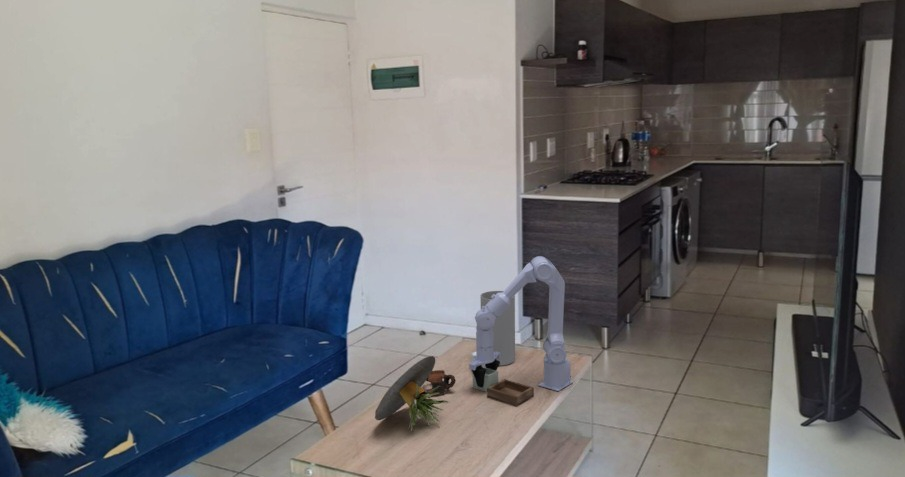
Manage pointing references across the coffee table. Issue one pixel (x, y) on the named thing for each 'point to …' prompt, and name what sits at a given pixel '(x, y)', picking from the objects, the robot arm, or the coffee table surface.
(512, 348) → the cylinder vase
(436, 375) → the pottery mug
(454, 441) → the coffee table surface
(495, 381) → the green crate
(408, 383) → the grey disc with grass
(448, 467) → the coffee table surface
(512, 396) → the walnut crate
